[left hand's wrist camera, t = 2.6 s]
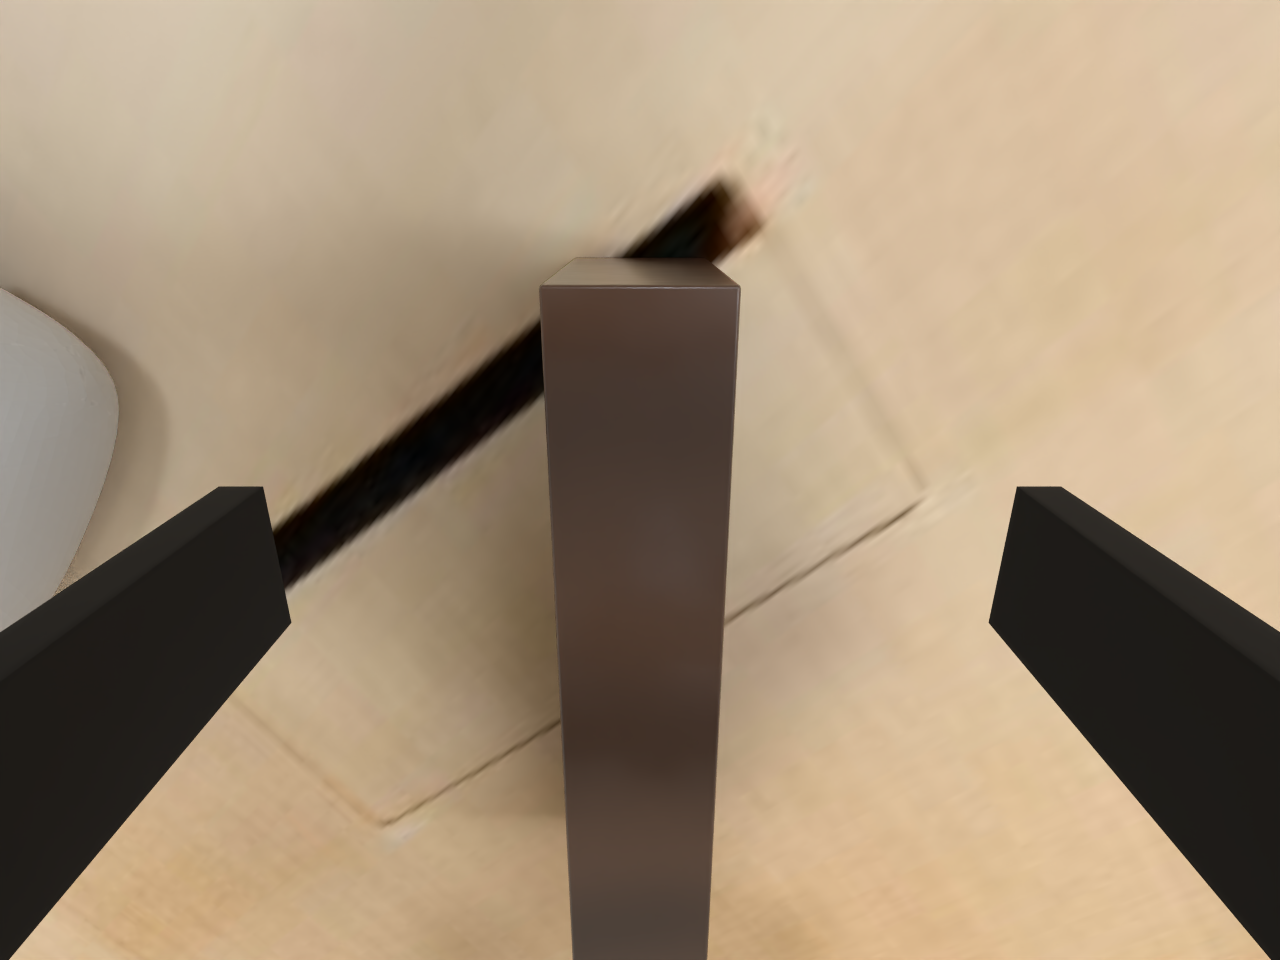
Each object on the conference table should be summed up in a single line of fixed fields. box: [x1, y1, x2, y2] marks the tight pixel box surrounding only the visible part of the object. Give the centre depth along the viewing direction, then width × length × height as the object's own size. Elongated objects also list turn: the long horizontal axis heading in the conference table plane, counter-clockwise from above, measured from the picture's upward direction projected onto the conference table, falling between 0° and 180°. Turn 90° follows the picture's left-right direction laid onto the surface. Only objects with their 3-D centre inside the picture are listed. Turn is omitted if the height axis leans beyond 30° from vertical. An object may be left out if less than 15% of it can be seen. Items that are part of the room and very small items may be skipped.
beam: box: [539, 258, 741, 960], centre depth 27 cm, size 28×5×10 cm, turn 0°
